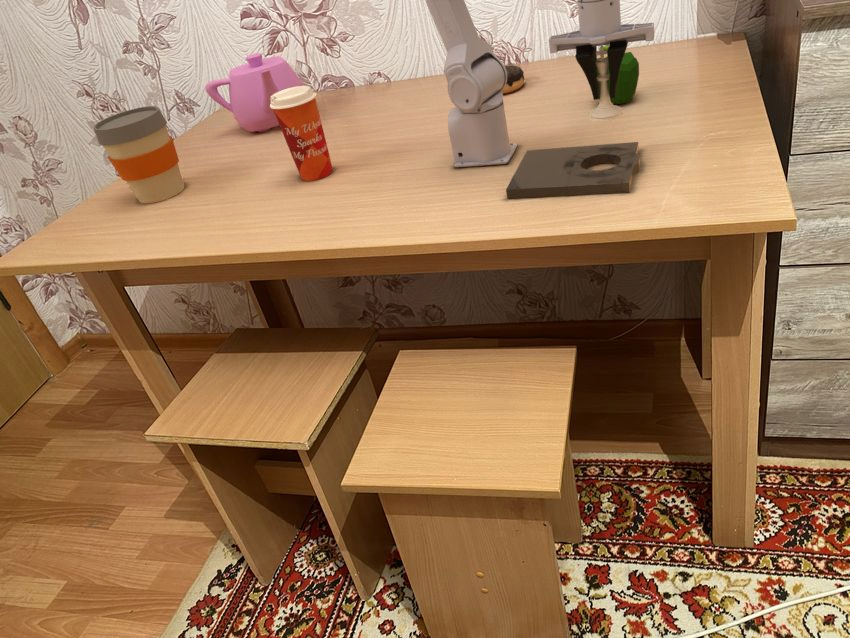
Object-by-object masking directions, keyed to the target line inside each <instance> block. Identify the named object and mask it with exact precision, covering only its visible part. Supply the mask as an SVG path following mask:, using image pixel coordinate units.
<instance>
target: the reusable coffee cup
mask: <svg viewBox="0 0 850 638" xmlns="http://www.w3.org/2000/svg"><path fill="white" fill-rule="evenodd" d="M167 125H168V123H167V120H166V118H165V116H164V114H163V113H162V111H161V109H160V107H159V106H156V105H147V106H139V107H136V108H132V109H128V110H125V111H121V112H118V113H116V114H113V115H111V116H108V117H106V118H103V119H102V120H99V121H98V122H97V123H95V124H94V125H93V127H92V129H93V131H94V133H95V137H96V139H97V141H98V144H99V145H100V146H102V147H103V148H104V150H105V151H106V153H107V155H108V156H107V158H108V159H107V160H108V161H109V162H110V163H111V165H112V167H113V168H114V169H115V171H116V172H117V174H118V176H119V177H120V179H121V180H122V181H125V182H126V184H127V185H128V186H129V188H130V189H131V191H132V193H133V194H134V196H135V197H136V198H137V201H138V202H139V203H141V204H154V203H159V202H162V201H165V200H169V199H170V198H172V197H175V196H177V195H179V194H180V193H181V192H182V191H184V189H185V183H184V180H183V177H182V176H183V175H182V173H181V170H180V167H179V161H180V159H179V156H178V152H177V149H176V146H175V142H174V138H173V137H172V136H171V135H170V133H169V131H168V127H167Z"/></svg>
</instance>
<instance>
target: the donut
mask: <svg viewBox="0 0 850 638" xmlns="http://www.w3.org/2000/svg"><path fill="white" fill-rule="evenodd" d="M504 66H505V68H506V71H507V83H506V85H505V87H504V88H503V90H502V92H503V95H504V94H505V95H506V94H508V93H513V92H515V91H517V90H519V89H520V88H521V87H522V86H524V83H525V80H526V79H525V73H524V71H523V69H522V67H520V66H518V65H515V64H513V65H507V64H506V65H504Z"/></svg>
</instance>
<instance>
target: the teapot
mask: <svg viewBox="0 0 850 638" xmlns="http://www.w3.org/2000/svg"><path fill="white" fill-rule="evenodd" d="M245 61H247V63H245V64H244V63H243V64H241V65H239V66H235V67H233V68H231V69H230V70H229V73H228V78H219V79H215V80H214V79H213V80H211V81H208V82H207V83H206V84H205V85H204V88H205V92H206V93H207V95H208V97H210V98H211V100H213V101H214V102H215V103H216V104H218V105H220V106H221V107H222V108H224V109H226V110H227V111H229V112H231V113H232V114H233V117H234V119H235V121H236V122H237V123H238V125H240V126H241V127H242V128H243V129H244V130H245V131H247V132H258V133H265V132H267V131H269V130H271V128H274V127H280V125H279V123H278V120H277V118H276V115H275V113H274V110H273V109H272V108H270V104H271V100H270V98H271V96H272V95H273V94H275V93H277V92H279V91H282V90H285V89H288V88H292V87H297V86H304V84H303V82H302V81H301V79H300V77H299V76H298V74H297V73H296V72H295V70H294V69H293V68H292V66H291V65H290V64H289V63H288V62H287V60H285V58H283V57H281V56H279V55H275V56H270V57H266V58H263V54H262V52H261V53H260V52H257V53H251V54H249V55H246V57H245ZM226 85H228V92H229V93H228V94H229V95H228V96H229V102H228V101H227V100H226V99H225V98H224V97H223V96H222V95H221V94H220V92H219V91H218V88H219V87H221V86H226Z"/></svg>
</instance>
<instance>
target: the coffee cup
mask: <svg viewBox="0 0 850 638" xmlns="http://www.w3.org/2000/svg"><path fill="white" fill-rule="evenodd" d="M317 95H318V94H317V92H314V88H311V86H309V85H303V86H297V87H292V88H288V89H285V90H282V91H279V92H277V93H275V94H273V95H272V96H271V98H270V100H271V104H270V108H272V109H273V110H274V113H275V115H276V118H277V120H278V123H279V127H280V130H281V132H282V135H283V137H284V140H285V142H286V145H287V147H288V149H289V152H290V154H291V157H292V159H293V162H294V165H295V167H296V169H297V171H298V174H299V176H300V177H301V180H303V181H306V182H312V181H313V182H314V181H317V180H321V179H325V178H327V177H328V176H329V175H331V174H332V173H333V170H334V169H333V165H332V161H331V155H330V152H329V148H328V144H327V139H326V135H325V132H324V128H323V127H324V126H323V124H322V123H323V122H322V120H321V115H320V111H319V107H318V103H317V99H316V97H317Z"/></svg>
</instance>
